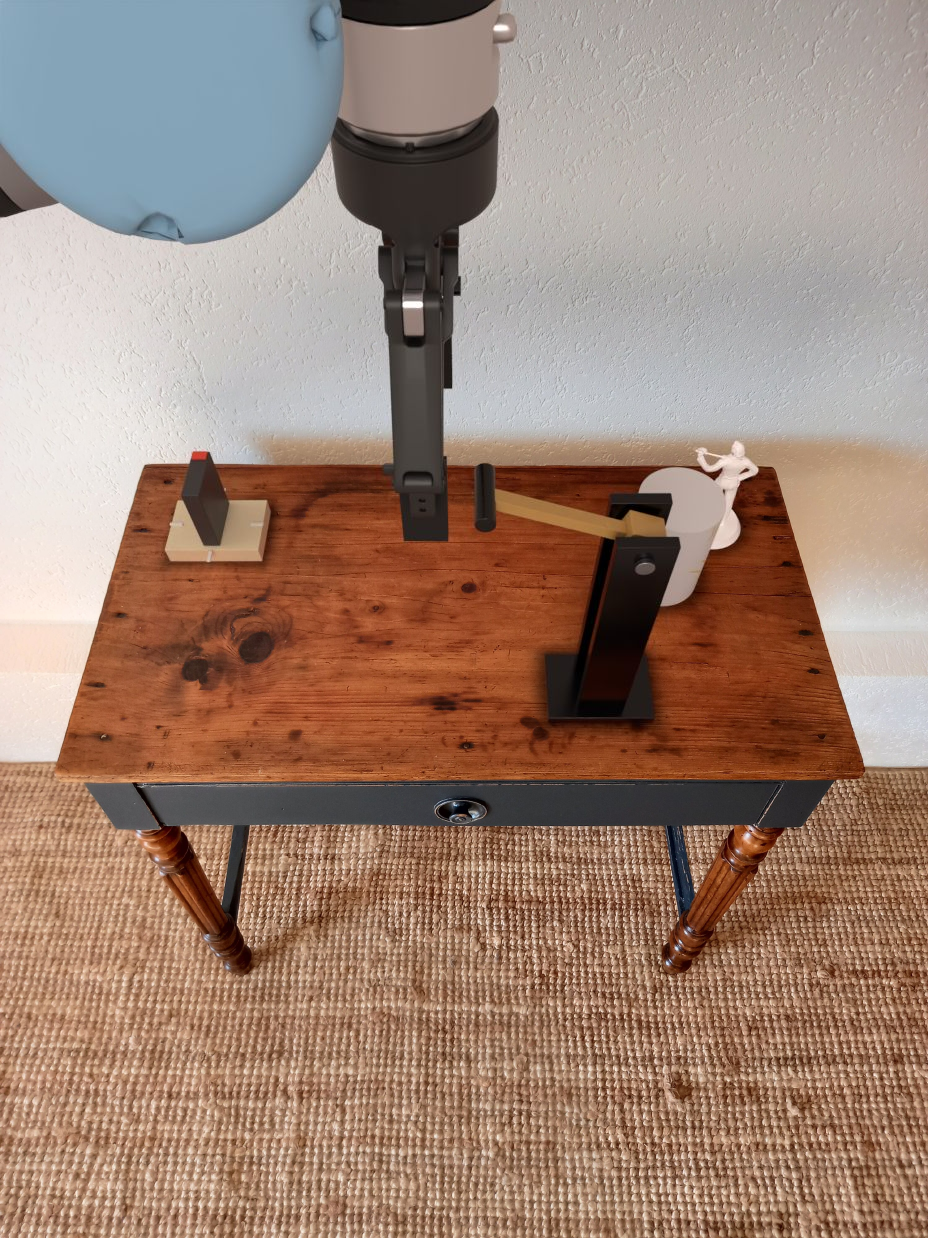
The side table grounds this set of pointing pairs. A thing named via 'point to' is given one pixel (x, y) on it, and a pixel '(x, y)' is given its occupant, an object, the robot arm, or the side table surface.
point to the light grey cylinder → (688, 523)
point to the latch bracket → (615, 625)
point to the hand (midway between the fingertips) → (430, 455)
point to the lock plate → (238, 538)
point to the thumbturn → (205, 498)
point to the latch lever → (554, 512)
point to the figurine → (728, 488)
